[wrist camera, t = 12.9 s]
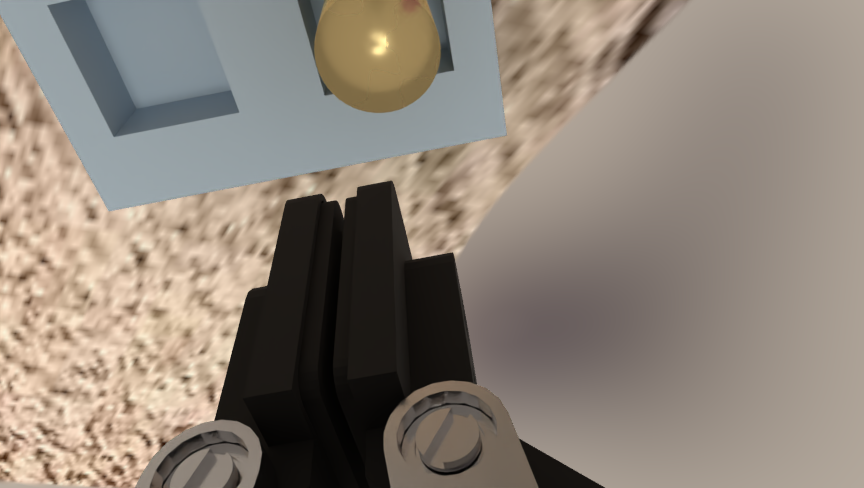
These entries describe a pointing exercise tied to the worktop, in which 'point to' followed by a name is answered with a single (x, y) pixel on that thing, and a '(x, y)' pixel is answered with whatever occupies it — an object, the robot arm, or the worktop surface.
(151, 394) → the worktop surface
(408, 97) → the yellow cylinder
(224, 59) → the block
